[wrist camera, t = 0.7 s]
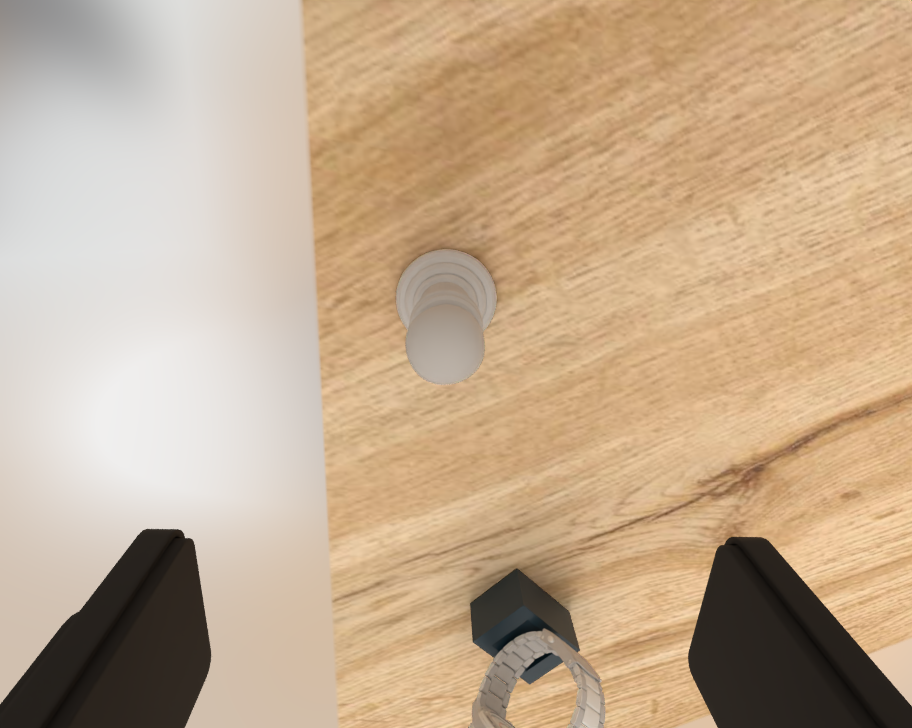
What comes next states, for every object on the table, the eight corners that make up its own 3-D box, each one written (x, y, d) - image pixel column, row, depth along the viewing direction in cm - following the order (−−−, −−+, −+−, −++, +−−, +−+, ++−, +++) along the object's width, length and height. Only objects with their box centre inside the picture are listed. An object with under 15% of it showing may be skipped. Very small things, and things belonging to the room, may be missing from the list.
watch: (449, 618, 38) (453, 793, 28) (536, 553, 36) (575, 715, 26) (503, 659, 40) (525, 838, 29) (589, 598, 38) (645, 768, 27)
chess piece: (410, 353, 30) (400, 432, 22) (384, 260, 28) (362, 308, 20) (504, 332, 30) (529, 404, 22) (484, 237, 28) (503, 276, 20)
